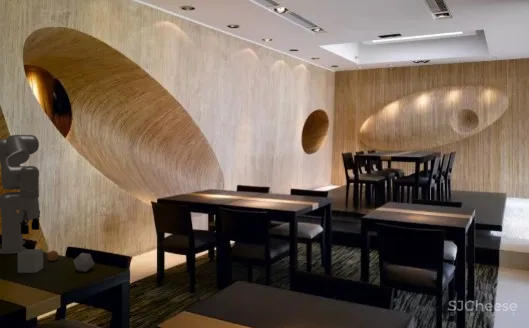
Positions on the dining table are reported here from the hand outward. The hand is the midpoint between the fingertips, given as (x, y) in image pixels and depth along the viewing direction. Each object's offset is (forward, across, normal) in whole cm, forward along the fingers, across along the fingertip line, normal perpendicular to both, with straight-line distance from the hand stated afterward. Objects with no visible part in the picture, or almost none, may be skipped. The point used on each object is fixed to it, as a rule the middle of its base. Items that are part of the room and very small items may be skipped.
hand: (30, 231), depth 201 cm
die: (+18, 0, +24) cm, 30 cm away
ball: (+15, -16, +3) cm, 22 cm away
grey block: (+18, 0, 0) cm, 18 cm away
